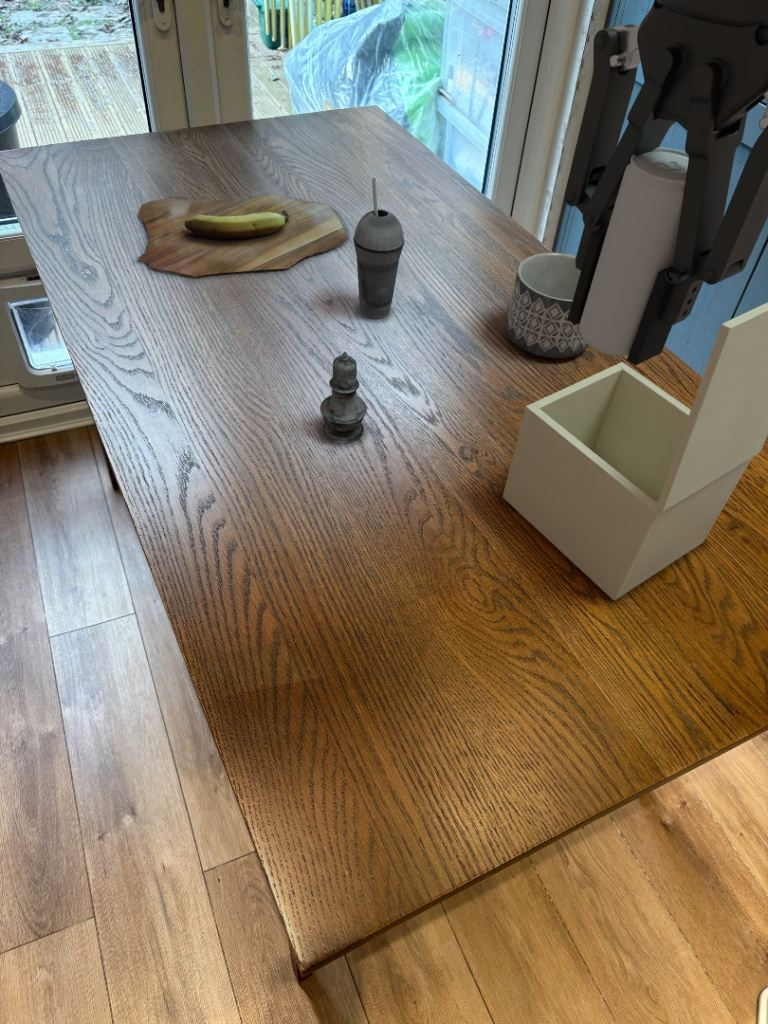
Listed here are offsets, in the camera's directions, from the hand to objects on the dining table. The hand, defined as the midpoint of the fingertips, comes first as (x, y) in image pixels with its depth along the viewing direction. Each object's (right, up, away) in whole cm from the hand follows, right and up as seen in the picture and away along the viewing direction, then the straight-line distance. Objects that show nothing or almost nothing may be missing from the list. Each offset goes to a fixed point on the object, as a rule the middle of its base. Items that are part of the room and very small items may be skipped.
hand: (613, 335), depth 52 cm
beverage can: (0, 0, 0) cm, 1 cm away
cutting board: (-40, +35, +76) cm, 93 cm away
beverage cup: (-17, +18, +62) cm, 67 cm away
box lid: (+16, -2, +14) cm, 21 cm away
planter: (+8, +14, +60) cm, 62 cm away
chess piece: (-21, -2, +44) cm, 49 cm away
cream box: (+10, -13, +36) cm, 39 cm away
